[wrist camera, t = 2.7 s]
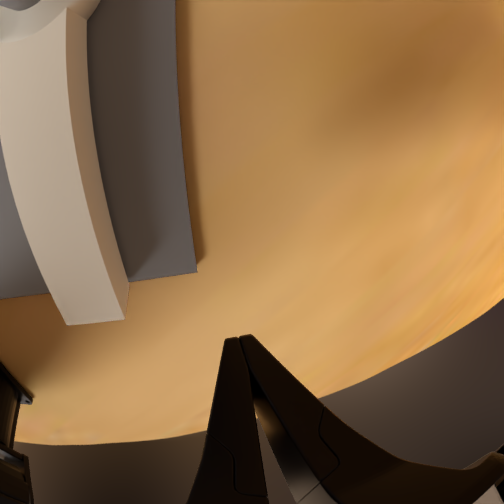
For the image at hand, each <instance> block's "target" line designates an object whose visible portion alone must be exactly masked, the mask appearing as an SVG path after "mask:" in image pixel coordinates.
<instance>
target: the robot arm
mask: <svg viewBox="0 0 504 504" xmlns="http://www.w3.org/2000/svg"><path fill="white" fill-rule="evenodd" d="M32 402H33V399H32V398H31V397H30V396H29V395H28V394H27V393H26V392H25V391H24V390H23V389H22V387H21V386H20V385H19V384H18V383H17V382H16V381H15V380H14V378H13V377H12V376H11V375H10V374H9V373H8V371H7V370H6V369H5V368H4V367H3V365H2V364H1V363H0V504H34V499H33V492H32V486H31V478H30V469H29V460H28V456H26V455H24V454H20V453H18V452H16V451H15V450H13V445H14V438H15V431H16V425H17V419H18V414H19V409H20V404H29V405H31V404H32ZM255 411H256V414H257V416H258V419H259V421H260V423H261V426H262V428H263V431H264V433H265V435H266V438H267V440H268V442H269V445H270V447H271V449H272V451H273V454H274V456H275V458H276V460H277V463H278V465H279V467H280V469H281V471H282V474H283V476H284V478H285V480H286V482H287V484H288V487H289V489H290V491H291V493H292V495H293V497H294V499H295V501H296V503H297V504H504V444H503V445H502V446H500V447H499V448H498V449H497V450H496V451H495V452H491V453H488V454H487V455H485V456H483V457H482V458H480V459H479V460H477V461H476V462H474V463H473V464H471V465H469V466H468V467H466V468H465V469H451V468H445V467H438V466H432V465H426V464H420V463H415V462H410V461H407V460H404V459H401V458H398V457H396V456H394V455H392V454H391V453H389V452H387V451H386V450H384V449H383V448H381V447H379V446H378V445H376V444H375V443H373V442H372V441H370V440H369V439H367V438H366V437H364V436H363V435H361V434H359V433H358V432H357V431H355V430H354V429H353V428H351V427H349V426H348V425H347V424H346V423H345V422H343V421H342V420H341V419H340V418H338V417H337V416H336V415H335V414H334V413H333V412H332V411H330V410H329V409H328V408H327V407H326V406H325V407H324V404H323V403H322V402H321V401H320V400H318V399H317V398H316V397H315V396H314V395H313V394H312V393H311V392H310V391H309V390H308V389H307V388H306V387H305V386H304V385H303V384H302V383H300V382H299V381H298V380H297V379H296V378H295V377H294V376H293V375H292V374H291V373H290V372H289V371H288V370H287V369H286V368H285V367H284V366H283V365H282V364H281V363H280V362H279V361H278V360H277V359H276V358H275V357H274V356H273V355H272V354H271V353H270V352H269V351H268V350H267V349H266V348H265V347H264V346H263V345H262V344H261V343H260V342H259V341H258V340H257V339H256V338H255V337H254V336H253V335H251V334H248V335H243V336H240V337H239V338H238V337H232V338H226V339H225V341H224V346H223V351H222V356H221V361H220V366H219V371H218V376H217V381H216V387H215V392H214V397H213V402H212V407H211V412H210V418H209V423H208V428H207V434H206V438H205V443H204V448H203V453H202V457H201V461H200V464H199V467H198V471H197V474H196V477H195V480H194V483H193V485H192V488H191V491H190V494H189V497H188V499H187V502H186V504H269V500H268V498H267V497H268V494H267V488H266V482H265V476H264V469H263V463H262V456H261V450H260V443H259V436H258V430H257V423H256V416H255Z"/></svg>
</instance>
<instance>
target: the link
mask: <svg viewBox="0 0 504 504" xmlns="http://www.w3.org/2000/svg"><path fill="white" fill-rule="evenodd" d="M99 2H100V0H0V139H1V145H2V150H3V155H4V160H5V165H6V169H7V174H8V178H9V182H10V186H11V189H12V193H13V197H14V200H15V204H16V207H17V210H18V213H19V216H20V219H21V222H22V225H23V228H24V231H25V234H26V237H27V239H28V242H29V245H30V247H31V250H32V252H33V255H34V257H35V260H36V262H37V265H38V267H39V269H40V272H41V274H42V276H43V278H44V281H45V283H46V285H47V287H48V289H49V291H50V293H51V295H52V297H53V299H54V301H55V303H56V305H57V307H58V309H59V311H60V313H61V315H62V317H63V319H64V321H65V322H66V324H67V326H68V325H79V324H89V323H99V322H108V321H117V320H125V316H126V308H127V301H128V294H129V287H130V285H129V282H128V279H127V276H126V273H125V269H124V266H123V263H122V259H121V256H120V253H119V249H118V245H117V242H116V238H115V234H114V231H113V227H112V223H111V219H110V215H109V210H108V206H107V202H106V197H105V193H104V188H103V183H102V178H101V173H100V168H99V162H98V156H97V150H96V144H95V137H94V130H93V123H92V114H91V105H90V95H89V83H88V67H87V20H88V19H89V17H90V16H91V15H92V14H93V12H94V11H95V9H96V8H97V6H98V4H99Z"/></svg>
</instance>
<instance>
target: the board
mask: <svg viewBox="0 0 504 504" xmlns="http://www.w3.org/2000/svg"><path fill="white" fill-rule="evenodd" d="M87 67H88V83H89V95H90V105H91V114H92V123H93V130H94V137H95V144H96V150H97V156H98V162H99V168H100V173H101V178H102V183H103V188H104V193H105V197H106V202H107V206H108V210H109V215H110V219H111V223H112V227H113V231H114V234H115V238H116V242H117V245H118V249H119V253H120V256H121V259H122V263H123V266H124V269H125V273H126V276H127V279H128V282H134V281H141V280H148V279H155V278H162V277H169V276H175V275H182V274H189V273H196V272H197V265H196V259H195V252H194V245H193V238H192V230H191V223H190V215H189V207H188V198H187V190H186V181H185V171H184V161H183V151H182V140H181V128H180V114H179V100H178V82H177V61H176V23H175V0H100V2H99V4H98V6H97V8H96V9H95V11H94V12H93V14H92V15H91V16H90V17H89V19H88V20H87ZM45 293H50V291H49V289H48V287H47V285H46V283H45V281H44V278H43V276H42V274H41V272H40V269H39V267H38V265H37V262H36V260H35V257H34V255H33V252H32V250H31V247H30V245H29V242H28V239H27V237H26V234H25V231H24V228H23V225H22V222H21V219H20V216H19V213H18V210H17V207H16V204H15V200H14V197H13V193H12V189H11V186H10V182H9V178H8V174H7V169H6V165H5V160H4V155H3V150H2V145H1V139H0V299H6V298H14V297H22V296H30V295H38V294H45Z"/></svg>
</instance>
